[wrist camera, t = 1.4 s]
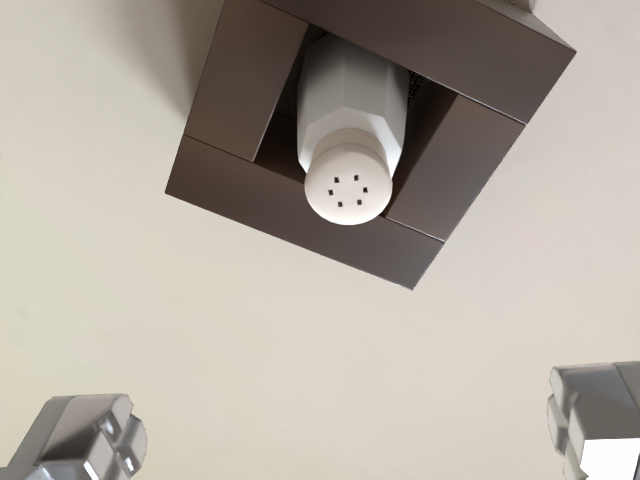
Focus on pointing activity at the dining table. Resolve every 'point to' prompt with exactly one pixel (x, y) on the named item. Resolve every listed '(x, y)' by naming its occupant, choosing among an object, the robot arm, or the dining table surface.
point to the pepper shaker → (349, 128)
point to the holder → (420, 129)
